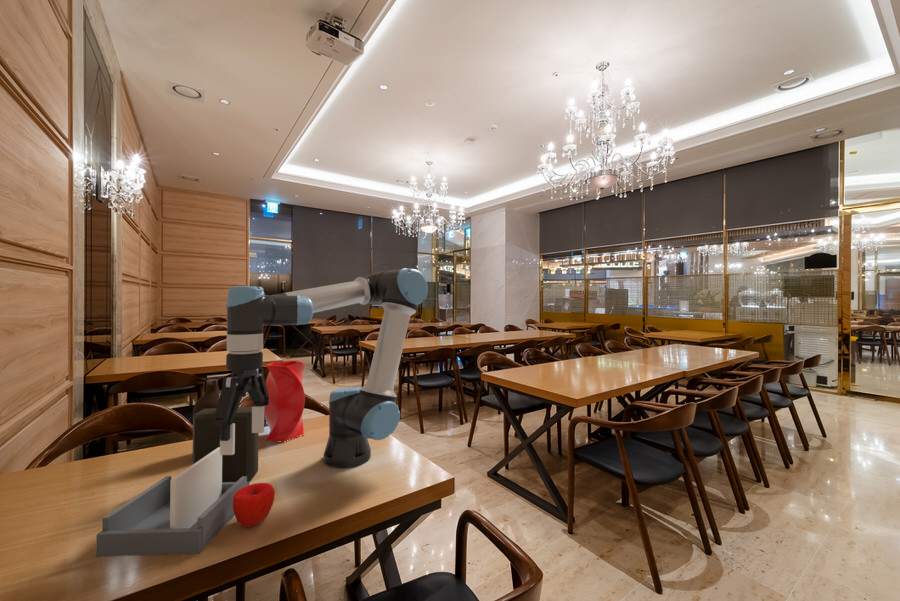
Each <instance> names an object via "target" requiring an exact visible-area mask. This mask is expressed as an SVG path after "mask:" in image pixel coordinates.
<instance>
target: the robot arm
mask: <svg viewBox="0 0 900 601" xmlns="http://www.w3.org/2000/svg"><path fill="white" fill-rule="evenodd" d="M425 278H426V277H425V276H424V274H423V273H422V272H421V271H420V270H417V269H415V268H407V267H405V268H404V267H403V268H399V269H388V270H386V269H385V270H382V271H377V272H375V273H371V274H367V275H363V276H358V277H356V278H355V279H354V280H352V281H347V282H340V283H335V284H329V285H324V286H317V287H311V288H305V289H299V290H295V291H288V292H283V293H277V294H271V295H269V294H265V291H264V287H262V286H256V285H255V286H250V285H248V286H246V285H235V286H234V285H233V286H230V287H229V288H228V290H227V296H226V297H227V299H226V306H225V307H226V338H225V342H226V351H227V352H228V353H227V354H226V356H225V357H226V358H225V367H226V370H227V371H231V377H223V378H222V384H221V385H222V386H221V391H220V393H221V394H220V398H219V401H218V405H217V409H216V412H215V416H214V420H213V425H220V455H233V454H235V423H233V420H234V417H235V415H236V412H237V409H238V407H240V405H241V404H240V403H241V401H242V399H243V397H245V396H246V395H247V394H248V396H249V398H250V400H251V401H252V403H253V406H251V407H252V433H258V434H263V433H264V432H265V417H264V405H268V404H269V401H268V400H269V395H268V391H267V387H266V383H265V382H266V380H265V375H264V368H263V365H264V361H263V356H264V353H263V352H262V350H264V326H265V327H268V326H299V325H307V324H309V323H310V322H311V321H312V318H313V316H314V313H319V312H325V311H328V310H333V309H338V308H342V307H346V306H352V305H357V304H360V305H362V306H365V305H370V304H381V305H380V306H381V307H382V308H383V311H384V312H383V315H382V320H381V324H380V328H379V331H378V336H377V340H376V344H375V348H374V351H373V352H374V353H373V357H372V360H371V364H370V368H369V372H368V375H367V379H366V380H367V381H366V384H365V385H363V386H352V387H351V386H350V387H345V388H344V387H343V388H339V389H338V388H337V389H335V390H333V391H331V392H330V395H329V401H328V404H329V408H328V409H329V411H328V413H329V414H328V415H329V420H328V421H329V424H328V426H329V431H328V432H329V433H328V439H327V441H326V446H325V448H324V451H323V454H322V455H323V463H324V464H325V465H326V466H329V467H332V468H336V469H337V468H339V469H344V468H353V467H356V466H359V465H362V464H364V463H366V462H368V461H369V460H370V459H371V456H372V454H371V453H372V448H371V446H370V442H369V439H371V440H375V441H381V440H384V439H387V438H388V437H390V435H391V434H393V433H394V431H395V430H396V429H397V428H398V425H399V422H400V419H401V412H400V410H399V406H398V405H397V404H396V401H397V396H398V395H397V393H395V384H396V380H397V375H398V370H399V367H400V362H401V358H402V354H403V350H404V346H405V345H404V344H405V341H406V335H407V332H408V328H409V324H410V321H411V320H410V318H411V317H412V316H413V315H415V314H416V313H417V308H418V305H421V304H422V303H423V302H424V301H426V299H427V297H428V293H429V292H428V291H429V287H428V282H427V280H426V279H425ZM246 393H247V394H246ZM263 395H264V396H263Z"/></svg>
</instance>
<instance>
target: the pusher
mask: <svg viewBox="0 0 900 601" xmlns="http://www.w3.org/2000/svg"><path fill="white" fill-rule="evenodd" d="M192 464H193V463H192ZM221 496H222V455H220V447H218V448H217V449H215V450H214V451H212V452H211V453H209V454H208V455H206V456H205V457H203V458H202V459H200V460H199V461H198V462H196V463H195V464H193V465H190V466H188V468H186V469H184V470H183V471H181V472H180V473H178V474H177V475H176V476H174V477H173V478H171V480H170V529H179V528H191V527H192V526H193V525H194V524H195V523H196V522H197V518H198V517H199V516H200V515H201V514H202V513H203V512H204V511H205V510H207V509H208V508H209V507H210V506H211V505H212V504H213V503H214V502H215V501H216V500H217V499H218V498H220V497H221Z"/></svg>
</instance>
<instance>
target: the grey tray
mask: <svg viewBox="0 0 900 601" xmlns="http://www.w3.org/2000/svg"><path fill="white" fill-rule="evenodd" d="M171 479H172V475H167V476H165V477H163V478H161V479H160V480H159V481H157V482H155V483H154V484H152V485H151V486H150V487H148V488H146V489H145V490H143V491H142V492H140V493H139V494H137V495H135V496H134V497H132V498H131V499H130V500H128V501H127V502H125V503H124V504H122V505H120V506H119V507H117V508H116V509H114V510H113V511H111V512H109V513H108V514H106V515H105V516H104V517H102V525H101V526H102V527H101V529H102V530H101V531H99V532H98V533H97V534H96V543H95V544H96V551H95V555H96V556H104V557H105V556H106V557H131V556H132V557H134V556H157V555H158V556H160V555H161V556H163V555H164V556H165V555H188V554H189V555H193V554H200V553H201V552H203V550H204V549H205V548H206V547H207V546H208V544H209V543H210V542H211V541H212V540H213V539H214V538H215V537H216V536H217V534H218V533H219V532H220V531H221V530H223V528H224V527H225V526H226V525H227V524H228V523H229V522H230V521H231V520H232V518H233V517H235V515H234V511H233V497H234V495H235V493H236V492H237V491H238V490H240V489H241V488H244V487H246V486H249V485H250V482H247V476H242V477H241V478H240V479H239V480H238V481H237V482H222V496H221V497H220V498H218V499H217V500H216V501H215V502H214V503H213V504H212V505H211V506H210V507H209V508H208V509H207V510H205V511H204V512H203V513H202V514H201V515H200V516H199V517H198V518H197V522H196V523H195V524H194V525H193V526H192V527H191V528H179V529H170V480H171ZM96 556H95V557H96Z"/></svg>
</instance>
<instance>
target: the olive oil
mask: <svg viewBox="0 0 900 601" xmlns="http://www.w3.org/2000/svg"><path fill="white" fill-rule="evenodd" d="M218 380H219V379H214V378H212V379H207V380H206V384H205V385H206V386H205V392H204V393H203V394H202V396H200V397H199V399H197V401H196V402H195V403H194V405H193V408H192V417H193V416H194V414H196V413H198V412H199V411H201V410H203V409H209V408H217V405H218V401H219V394H220V393H221V391H219V383H218Z"/></svg>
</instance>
